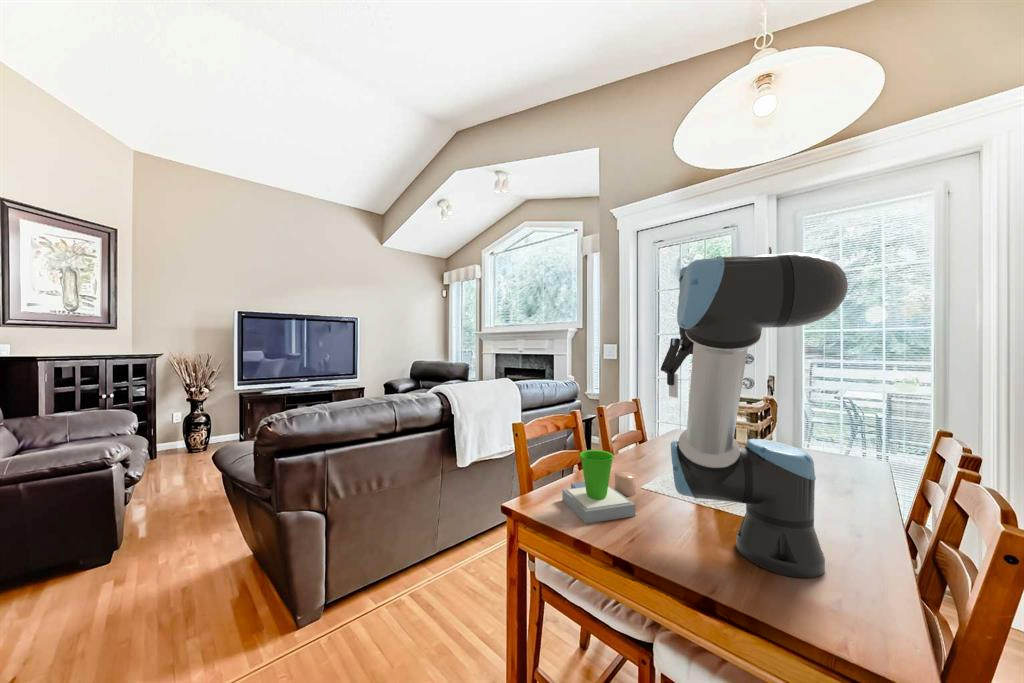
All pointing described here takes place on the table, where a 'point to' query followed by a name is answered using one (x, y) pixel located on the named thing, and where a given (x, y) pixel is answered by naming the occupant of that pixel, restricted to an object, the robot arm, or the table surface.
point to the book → (578, 485)
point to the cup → (596, 472)
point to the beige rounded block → (625, 483)
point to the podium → (598, 505)
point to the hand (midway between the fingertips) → (693, 395)
